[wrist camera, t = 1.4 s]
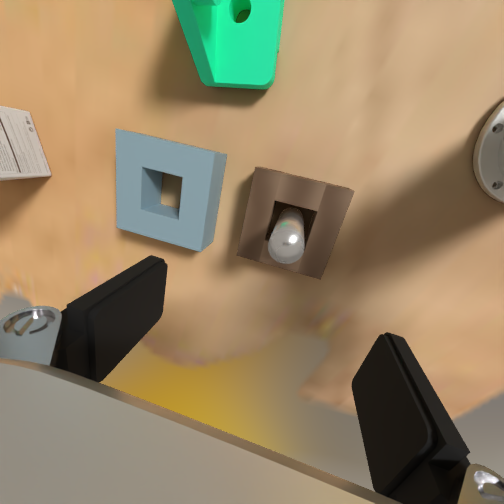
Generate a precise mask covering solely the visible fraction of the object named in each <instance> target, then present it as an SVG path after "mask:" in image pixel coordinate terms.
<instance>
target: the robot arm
mask: <svg viewBox="0 0 504 504" xmlns="http://www.w3.org/2000/svg"><path fill="white" fill-rule="evenodd" d="M492 129H493V131H492ZM473 169H474V173H475V176H476V179H477V181H478V183H479V185H480V186H481V188H482V189H483V190H484V191H485V192H486V193H487V194H488V195H489V196H490V197H492V198H494V199H495V200H497V201H499V202H502V203H504V101H503V102H502V103H501V104H500V105H499V106H498V107H497V108H496V109H495V111H494V112H493V113H492V114H491V116H490V117H489V118H488V120H487V121H486V123H485V125H484V126H483V128H482V130H481V132H480V134H479V137H478V139H477V142H476V144H475V150H474V155H473ZM492 185H493V186H492ZM166 277H167V264H166V263H165V261H164V259H161V258H158V257H155V256H152V255H151V256H148V257H147V258H145V259H143V260H142V261H140V262H138V263H137V264H135V265H133V266H132V267H130V268H128V269H126V270H125V271H123V272H121V273H120V274H118V275H116V276H115V277H113V278H111V279H110V280H108V281H106V282H105V283H103V284H101V285H100V286H98V287H96V288H94V289H93V290H91V291H89V292H88V293H86V294H84V295H83V296H81V297H79V298H78V299H76V300H74V301H73V302H71V303H69V304H68V305H67V308H66V309H64V310H63V311H61V312H60V311H59V310H58V309H56V308H54V307H49V306H35V307H28V308H24V309H21V310H18V311H15V312H13V313H11V314H9V315H7V316H6V317H4V318H3V319H2V320H0V504H504V478H502V477H501V476H500V475H498V474H497V473H495V472H494V471H492V470H491V469H489V468H487V467H485V466H482V465H479V464H470V462H469V460H468V459H467V457H466V456H467V455H468V454H469V453H470V451H469V449H468V448H467V446H466V444H465V442H464V441H463V439H462V437H461V435H460V434H459V432H458V430H457V429H456V427H455V425H454V423H453V422H452V420H451V418H450V416H449V415H448V413H447V411H446V410H445V408H444V406H443V404H442V403H441V401H440V399H439V398H438V396H437V394H436V392H435V391H434V389H433V387H432V385H431V384H430V382H429V380H428V379H427V377H426V375H425V373H424V372H423V370H422V368H421V366H420V365H419V363H418V361H417V360H416V358H415V356H414V354H413V353H412V351H411V349H410V347H409V346H408V344H407V342H406V341H405V339H404V338H403V337H401V336H397V335H394V334H391V333H388V332H387V333H385V334H384V335H383V334H381V335H379V337H378V338H377V340H376V341H375V343H374V345H373V346H372V348H371V350H370V351H369V353H368V355H367V356H366V358H365V360H364V361H363V363H362V365H361V366H360V368H359V370H358V372H357V373H356V375H355V377H354V378H353V381H352V391H353V396H354V401H355V405H356V410H357V415H358V419H359V424H360V428H361V433H362V437H363V442H364V447H365V451H366V456H367V460H368V465H369V470H370V474H371V479H372V484H373V488H374V490H375V492H374V491H372V490H369V489H367V488H364V487H361V486H359V485H356V484H354V483H351V482H349V481H347V480H344V479H342V478H339V477H337V476H334V475H332V474H329V473H327V472H324V471H322V470H319V469H317V468H314V467H312V466H309V465H307V464H304V463H302V462H299V461H297V460H294V459H292V458H290V457H287V456H285V455H282V454H280V453H277V452H275V451H272V450H270V449H267V448H265V447H262V446H260V445H257V444H255V443H252V442H249V441H247V440H244V439H242V438H239V437H237V436H234V435H232V434H229V433H227V432H224V431H222V430H219V429H217V428H214V427H211V426H209V425H207V424H204V423H201V422H199V421H196V420H194V419H191V418H189V417H186V416H184V415H181V414H178V413H176V412H173V411H171V410H168V409H166V408H163V407H160V406H158V405H156V404H153V403H150V402H148V401H145V400H143V399H140V398H137V397H135V396H132V395H130V394H127V393H125V392H122V391H120V390H117V389H114V388H112V387H109V386H106V385H104V384H101V383H98V382H101V381H102V380H103V379H104V378H105V377H106V376H107V375H108V374H109V373H110V372H111V371H112V370H113V369H114V368H115V367H116V366H117V364H118V363H119V362H120V361H121V360H122V359H123V358H124V357H125V356H126V354H128V353H129V352H130V350H131V349H132V348H133V347H134V346H135V345H136V344H137V343H138V342H139V341H140V340H141V339H142V338H143V336H144V335H145V334H146V333H147V332H148V331H149V330H150V329H151V328H152V327H153V326H154V325H155V324H156V322H157V321H158V320H159V319H160V318H161V316H162V313H163V305H164V295H165V286H166Z"/></svg>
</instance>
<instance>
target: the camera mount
mask: <svg viewBox="0 0 504 504" xmlns="http://www.w3.org/2000/svg"><path fill="white" fill-rule="evenodd" d="M172 2H173V5H174V7H175V10H176V13H177V16H178V18H179V21H180V24H181V27H182V29H183V32H184V35H185V38H186V41H187V43H188V46H189V49H190V52H191V54H192V57H193V60H194V63H195V66H196V68H197V71H198V74H199V77H200V79H201V82H202V83H204V84H205V85H206V86H213V87H231V88H248V89H268V88H269V87H270V86H271V85H272V84H273V82H274V78H275V69H276V60H277V52H279V44H280V35H281V26H282V17H283V8H284V0H172ZM245 9H248V10H251V12H250V15H249V17H248V19H247V20H246V21H245V22H243V23H236V18H237V16H238V14H239V13H240V12H241V11H242V10H245Z"/></svg>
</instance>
